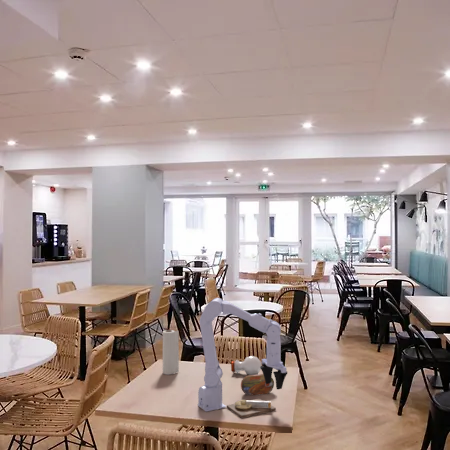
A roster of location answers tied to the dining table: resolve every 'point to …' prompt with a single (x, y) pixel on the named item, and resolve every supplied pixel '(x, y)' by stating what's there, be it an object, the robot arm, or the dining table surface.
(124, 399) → the dining table surface
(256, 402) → the switch lever
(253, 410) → the lever switch plate
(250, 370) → the potion bottle
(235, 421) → the dining table surface
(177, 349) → the paper towel roll
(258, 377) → the tin
